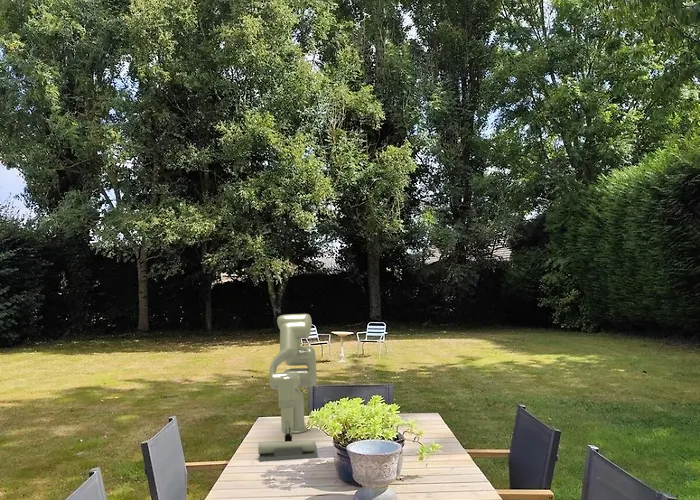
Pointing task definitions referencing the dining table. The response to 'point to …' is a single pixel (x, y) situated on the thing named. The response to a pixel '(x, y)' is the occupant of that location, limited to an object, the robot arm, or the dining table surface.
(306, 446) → the tube
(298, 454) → the galvanized metal plate
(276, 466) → the dining table surface
